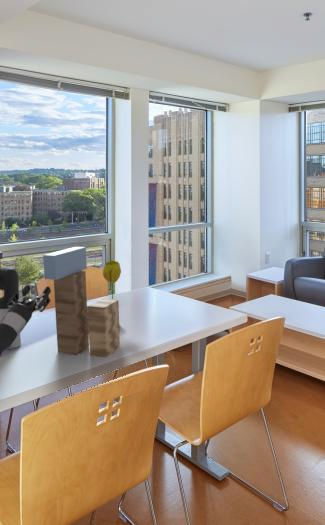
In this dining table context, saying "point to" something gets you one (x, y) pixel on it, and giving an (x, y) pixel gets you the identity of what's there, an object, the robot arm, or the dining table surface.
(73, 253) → the rail
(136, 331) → the dining table surface
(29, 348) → the dining table surface
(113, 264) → the flower
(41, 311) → the robot arm
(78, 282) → the pedestal
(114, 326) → the step
